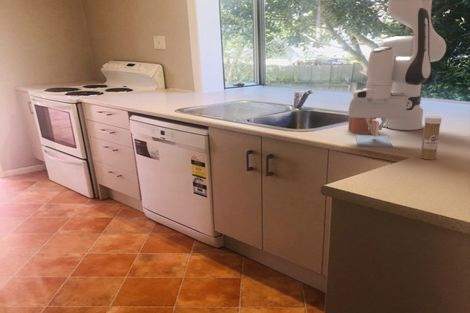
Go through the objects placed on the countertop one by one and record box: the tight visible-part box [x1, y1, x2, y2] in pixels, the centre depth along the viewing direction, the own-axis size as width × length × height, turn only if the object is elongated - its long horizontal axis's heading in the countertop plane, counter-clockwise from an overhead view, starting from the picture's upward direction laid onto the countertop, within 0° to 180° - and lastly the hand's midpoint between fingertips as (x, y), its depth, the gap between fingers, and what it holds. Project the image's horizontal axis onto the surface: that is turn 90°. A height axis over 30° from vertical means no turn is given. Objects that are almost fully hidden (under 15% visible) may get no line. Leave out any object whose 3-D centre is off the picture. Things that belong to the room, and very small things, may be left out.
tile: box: [370, 118, 380, 136], centre depth 139 cm, size 8×2×5 cm, turn 166°
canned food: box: [347, 116, 377, 134], centre depth 159 cm, size 11×11×12 cm
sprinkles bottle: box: [419, 115, 442, 160], centre depth 117 cm, size 5×5×13 cm
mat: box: [355, 134, 394, 148], centre depth 141 cm, size 16×12×1 cm
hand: (374, 129), depth 140 cm, fingers closed on tile, 2 cm apart
